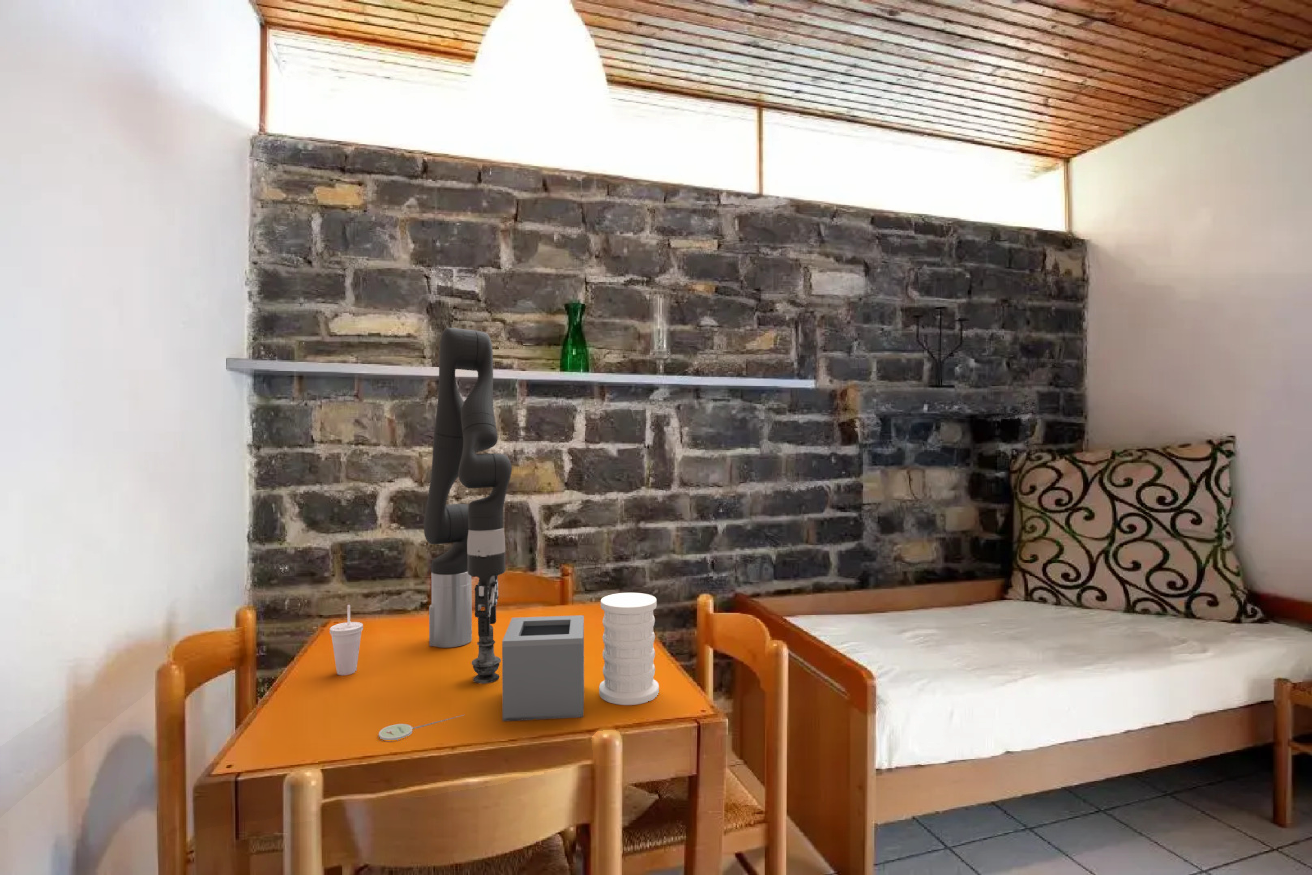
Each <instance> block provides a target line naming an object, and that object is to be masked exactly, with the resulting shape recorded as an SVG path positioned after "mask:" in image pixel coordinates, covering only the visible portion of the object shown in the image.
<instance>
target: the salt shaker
mask: <svg viewBox="0 0 1312 875" xmlns="http://www.w3.org/2000/svg"><path fill="white" fill-rule="evenodd" d="M495 643H496V640H494V626H493V624H490V635H489V636H487V637H479V636H478V641H477V642H476V645H478V654H477V658H474V659H473V660H472V661H471V666H472V668H473V670H474V673H476V675H475V676H474V677H472V681H473V682H474V683H477V684H484V685H485V684H490V683H494V682H497V681H498V680H500V675H499V674H498V673H497V670H499V667H500V663H502V662H501V661H502V658H500V657H499V656H496V655H495V647H494V646H495ZM496 680H497V681H496Z"/></svg>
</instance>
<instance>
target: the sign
mask: <svg viewBox="0 0 1312 875" xmlns="http://www.w3.org/2000/svg"><path fill="white" fill-rule="evenodd" d="M463 716H464V714H462V715H457V716H454V717H450V718H445V719H442V720H438V721H433V722H431V723H425V724H422V725H419V726H418V725H417V726H414V727H413V726H411V725H410V724H406V723H397V724H392V725H388V726H385V727H383V728H381V729H380V730H379V732H378V738H379V737H380V739H383V740H397V741H399V740H398V739H401V738H404V737H406V736H408V737H409V736H410V735H412V733H413V730H415V728H416V729H419V728H420V729H421V728H424V727H426V726H430V725H435V724H437V723H441V722H446V721H449V720H453V719H456V718H458V717H459V718H460V717H463ZM412 729H413V730H412ZM406 738H407V737H406ZM380 739H379V740H380ZM404 739H405V738H404ZM383 740H382V741H383ZM401 740H402V739H401Z"/></svg>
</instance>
